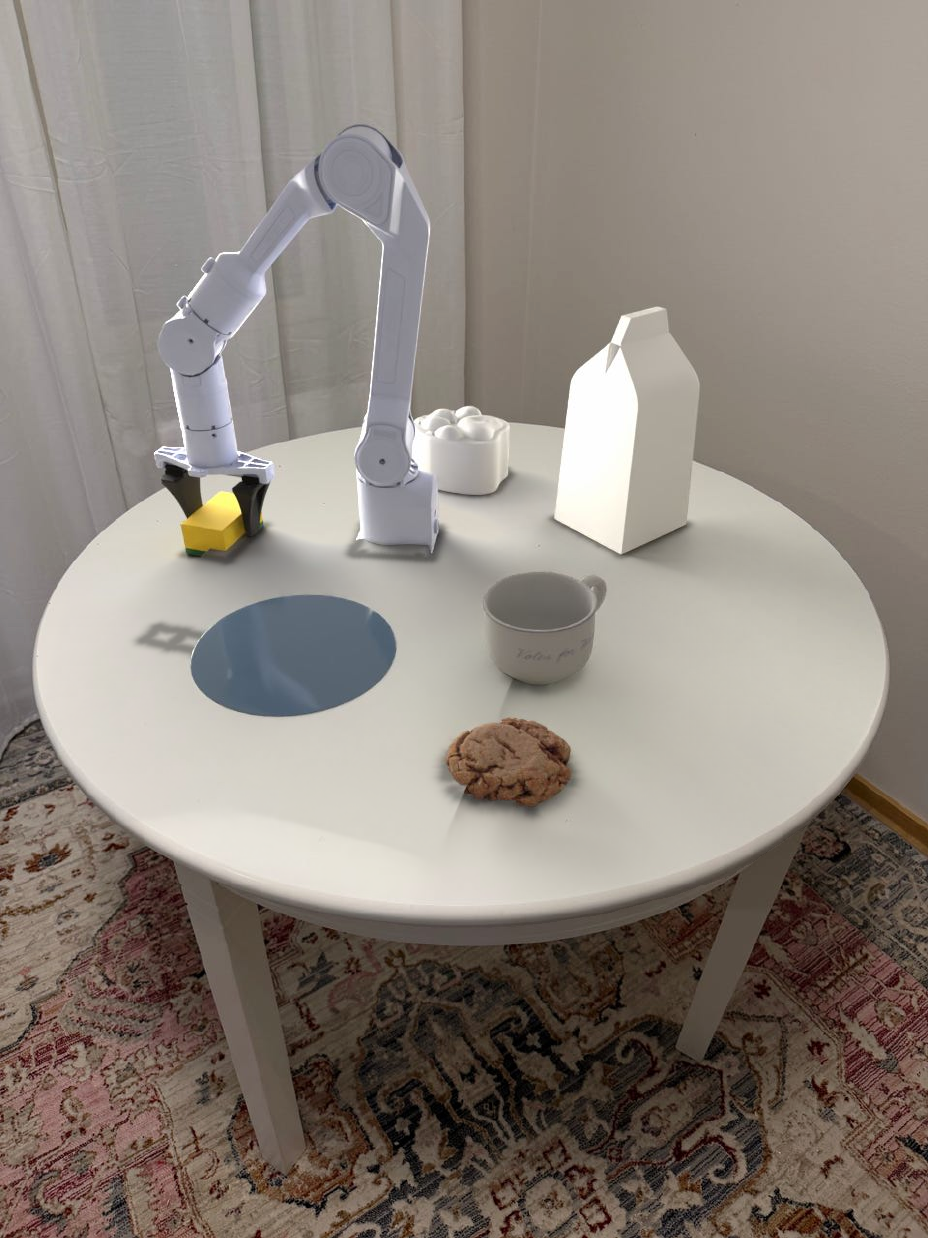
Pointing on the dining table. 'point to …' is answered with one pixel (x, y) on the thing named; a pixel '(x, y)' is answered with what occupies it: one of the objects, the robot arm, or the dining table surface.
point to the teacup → (541, 624)
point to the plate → (293, 655)
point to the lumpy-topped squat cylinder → (462, 450)
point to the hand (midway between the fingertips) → (225, 527)
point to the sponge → (214, 525)
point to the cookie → (510, 761)
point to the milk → (630, 437)
